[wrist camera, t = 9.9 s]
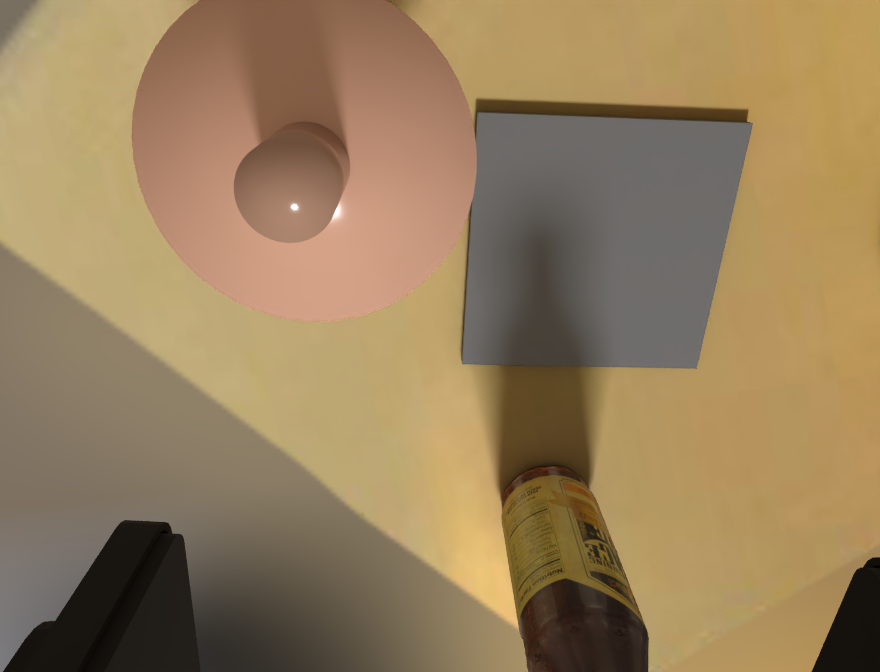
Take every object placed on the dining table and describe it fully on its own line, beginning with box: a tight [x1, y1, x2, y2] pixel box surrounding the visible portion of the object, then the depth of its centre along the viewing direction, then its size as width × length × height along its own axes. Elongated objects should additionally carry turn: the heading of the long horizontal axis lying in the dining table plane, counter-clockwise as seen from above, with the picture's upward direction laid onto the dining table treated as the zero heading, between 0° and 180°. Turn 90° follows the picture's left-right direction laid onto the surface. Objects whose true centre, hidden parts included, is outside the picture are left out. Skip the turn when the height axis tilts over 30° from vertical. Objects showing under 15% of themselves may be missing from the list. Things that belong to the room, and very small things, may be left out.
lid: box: [132, 0, 477, 322], centre depth 22 cm, size 12×12×5 cm
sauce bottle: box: [502, 466, 649, 672], centre depth 34 cm, size 7×6×20 cm
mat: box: [462, 111, 753, 369], centre depth 36 cm, size 14×14×1 cm
